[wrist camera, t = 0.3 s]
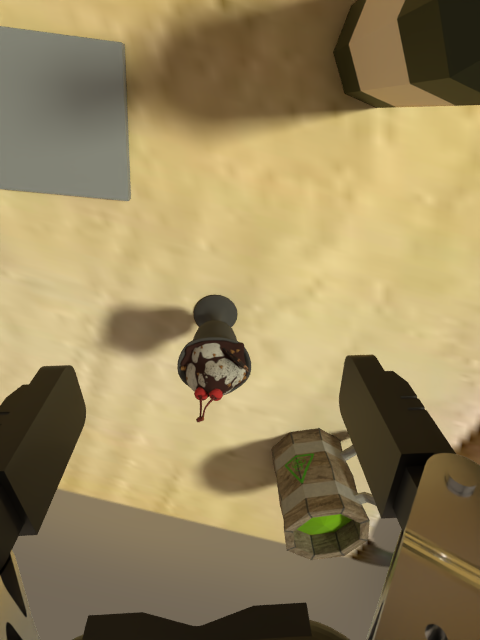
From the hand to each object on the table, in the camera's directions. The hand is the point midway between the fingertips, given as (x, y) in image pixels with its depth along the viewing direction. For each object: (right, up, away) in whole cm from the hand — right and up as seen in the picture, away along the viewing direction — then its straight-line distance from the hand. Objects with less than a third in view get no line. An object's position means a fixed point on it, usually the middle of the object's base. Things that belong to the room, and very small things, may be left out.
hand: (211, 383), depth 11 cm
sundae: (-2, +3, +31) cm, 31 cm away
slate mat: (-15, +19, +21) cm, 32 cm away
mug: (+13, -17, +43) cm, 48 cm away
